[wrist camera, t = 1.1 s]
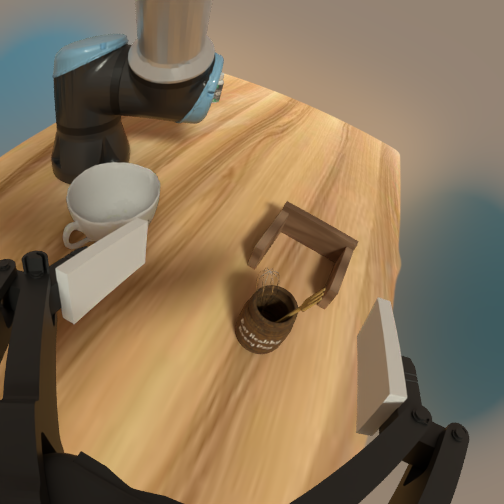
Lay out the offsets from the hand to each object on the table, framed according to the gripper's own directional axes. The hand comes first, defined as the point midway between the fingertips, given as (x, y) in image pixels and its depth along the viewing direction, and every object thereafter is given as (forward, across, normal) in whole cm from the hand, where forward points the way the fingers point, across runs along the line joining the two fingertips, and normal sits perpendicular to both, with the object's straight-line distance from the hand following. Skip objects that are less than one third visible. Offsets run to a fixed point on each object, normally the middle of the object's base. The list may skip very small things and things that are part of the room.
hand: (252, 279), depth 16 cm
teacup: (+18, -23, -12) cm, 32 cm away
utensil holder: (+15, +1, -17) cm, 23 cm away
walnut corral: (+27, +3, -12) cm, 30 cm away
